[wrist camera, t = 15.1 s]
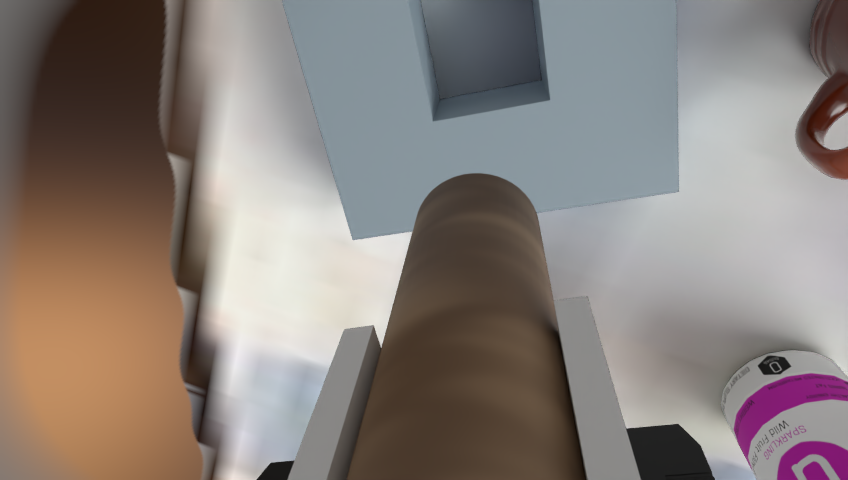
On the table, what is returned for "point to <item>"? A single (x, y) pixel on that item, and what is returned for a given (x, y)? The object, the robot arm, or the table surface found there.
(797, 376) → the supplement can
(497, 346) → the walnut peg
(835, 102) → the mug
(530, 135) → the socket block
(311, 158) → the table surface
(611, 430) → the robot arm
